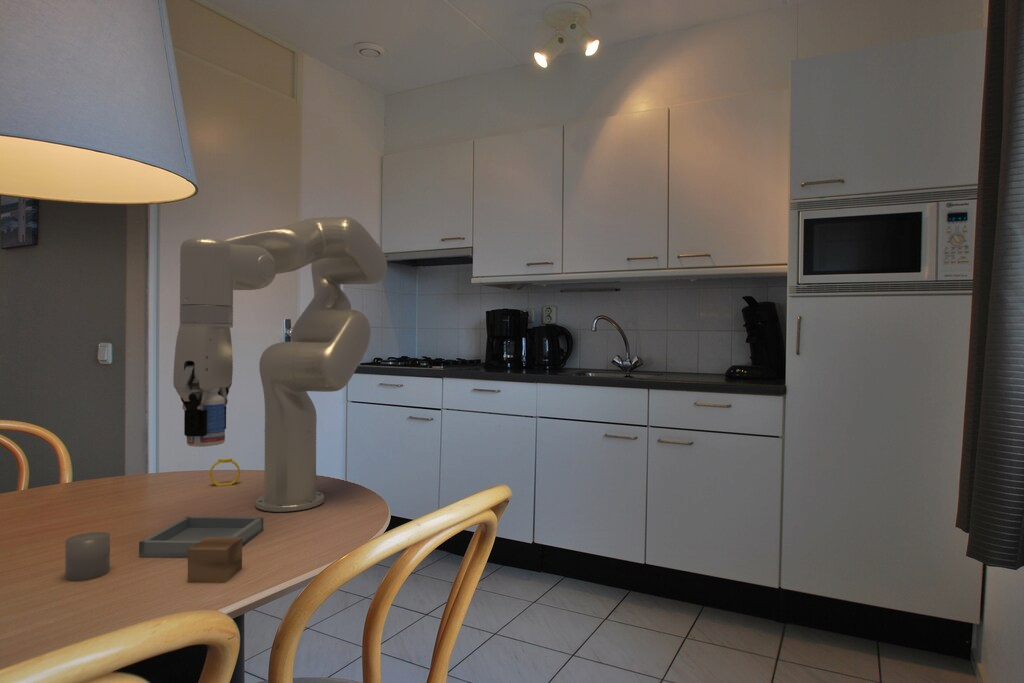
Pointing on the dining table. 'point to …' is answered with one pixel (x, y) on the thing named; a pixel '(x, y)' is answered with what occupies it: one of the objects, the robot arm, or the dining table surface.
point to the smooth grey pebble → (87, 556)
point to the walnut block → (214, 560)
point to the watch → (224, 460)
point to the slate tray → (198, 534)
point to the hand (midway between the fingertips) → (205, 431)
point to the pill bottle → (211, 421)
